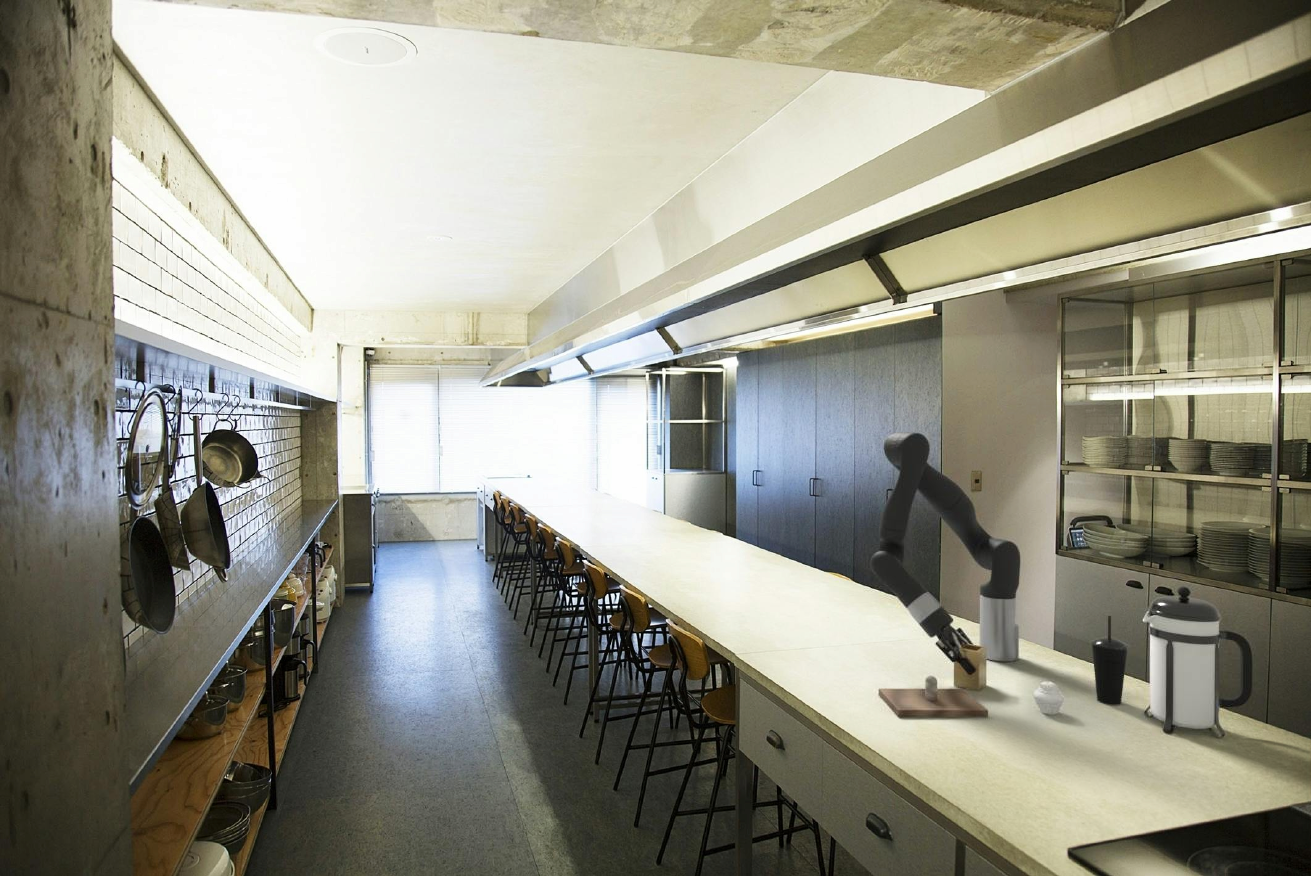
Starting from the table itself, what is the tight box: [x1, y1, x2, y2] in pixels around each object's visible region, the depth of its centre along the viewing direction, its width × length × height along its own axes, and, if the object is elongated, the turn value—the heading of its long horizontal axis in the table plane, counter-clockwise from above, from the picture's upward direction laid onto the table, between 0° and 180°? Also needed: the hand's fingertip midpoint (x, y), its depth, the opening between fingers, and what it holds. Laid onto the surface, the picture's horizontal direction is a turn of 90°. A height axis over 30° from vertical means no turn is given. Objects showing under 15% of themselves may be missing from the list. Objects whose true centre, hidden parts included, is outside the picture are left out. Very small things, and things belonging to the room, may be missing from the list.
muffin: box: [1032, 680, 1065, 716], centre depth 168 cm, size 6×6×7 cm
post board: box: [878, 675, 989, 718], centre depth 172 cm, size 20×14×7 cm
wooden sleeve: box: [953, 643, 987, 692], centre depth 186 cm, size 6×6×10 cm
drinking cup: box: [1090, 615, 1130, 706], centre depth 175 cm, size 8×8×20 cm
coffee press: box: [1142, 586, 1253, 739], centre depth 160 cm, size 17×16×30 cm
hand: (977, 669), depth 185 cm, fingers closed on wooden sleeve, 6 cm apart
